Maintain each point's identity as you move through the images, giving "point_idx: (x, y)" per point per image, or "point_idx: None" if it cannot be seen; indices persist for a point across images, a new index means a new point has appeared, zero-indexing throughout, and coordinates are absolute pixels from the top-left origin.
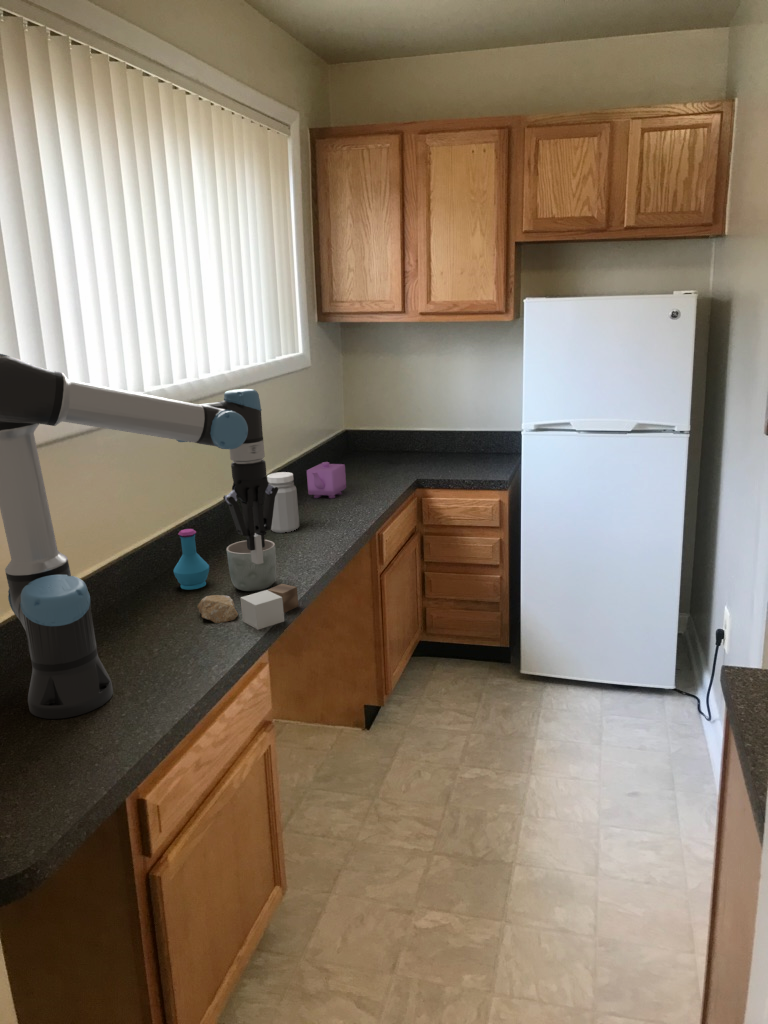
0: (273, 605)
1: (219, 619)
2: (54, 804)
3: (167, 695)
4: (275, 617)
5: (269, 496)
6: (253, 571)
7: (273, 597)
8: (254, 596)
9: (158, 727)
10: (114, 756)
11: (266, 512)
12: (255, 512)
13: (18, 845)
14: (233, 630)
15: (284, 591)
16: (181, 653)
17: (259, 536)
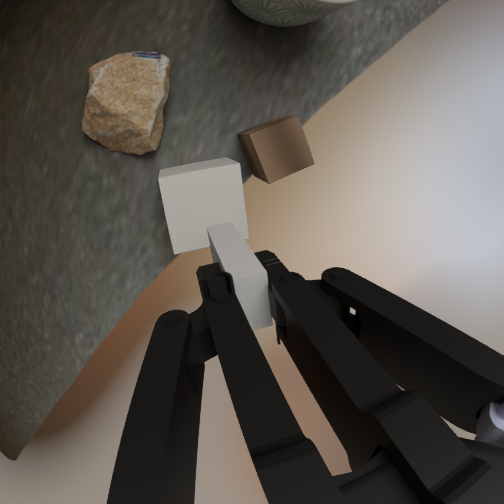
0: None
1: (114, 148)
2: (3, 439)
3: (30, 372)
4: None
5: (466, 418)
6: (271, 10)
7: None
8: (193, 193)
9: (37, 413)
10: (17, 424)
11: (386, 356)
12: (325, 391)
13: (3, 451)
14: (128, 209)
15: (278, 173)
16: (31, 265)
17: (263, 324)
